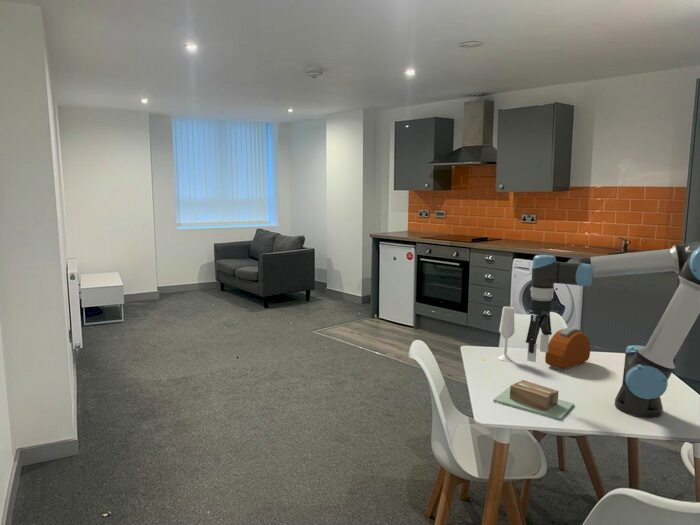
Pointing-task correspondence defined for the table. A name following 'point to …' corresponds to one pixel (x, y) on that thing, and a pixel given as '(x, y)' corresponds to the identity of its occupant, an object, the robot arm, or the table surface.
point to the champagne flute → (507, 328)
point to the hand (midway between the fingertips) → (537, 356)
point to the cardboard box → (534, 395)
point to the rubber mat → (554, 412)
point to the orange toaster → (567, 349)
